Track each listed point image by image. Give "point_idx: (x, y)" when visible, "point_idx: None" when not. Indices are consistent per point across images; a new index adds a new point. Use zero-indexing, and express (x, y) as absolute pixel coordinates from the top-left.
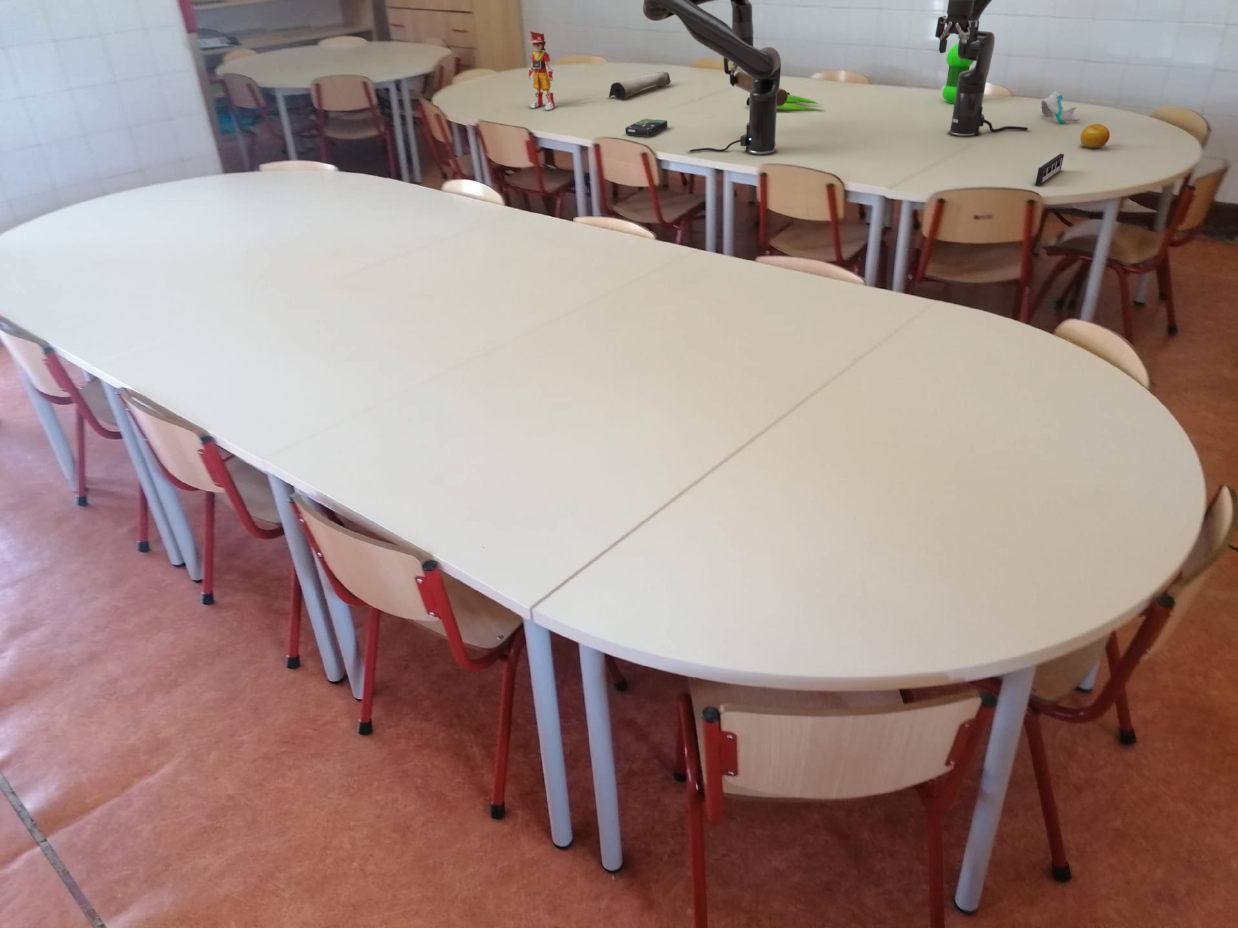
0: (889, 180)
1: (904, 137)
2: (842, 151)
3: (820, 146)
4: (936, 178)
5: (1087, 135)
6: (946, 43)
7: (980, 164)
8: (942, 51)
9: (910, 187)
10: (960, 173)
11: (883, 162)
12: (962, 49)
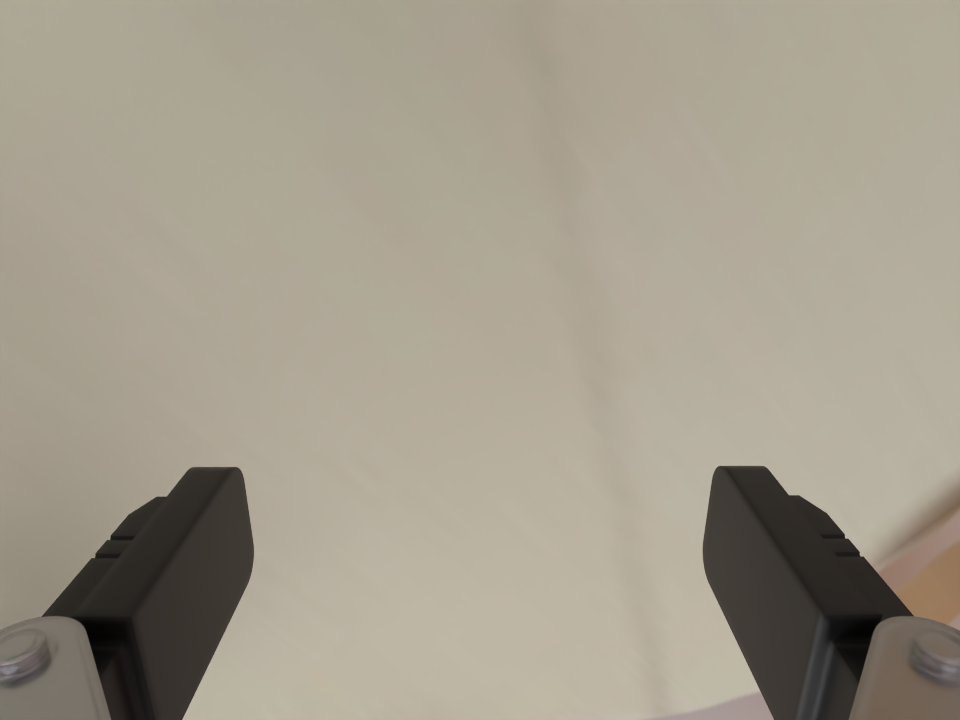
0: (601, 660)
1: (124, 117)
2: None
3: (30, 542)
4: None
5: None
6: (165, 570)
7: (773, 238)
8: (238, 556)
9: (715, 665)
10: (772, 416)
11: (414, 523)
12: (754, 661)
